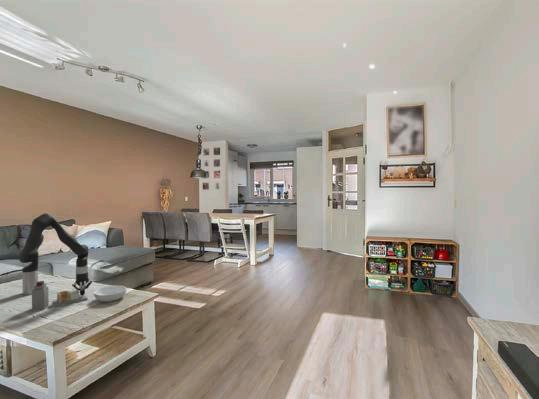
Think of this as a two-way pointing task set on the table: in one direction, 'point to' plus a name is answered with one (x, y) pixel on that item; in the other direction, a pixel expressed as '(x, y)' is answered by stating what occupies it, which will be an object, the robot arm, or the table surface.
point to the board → (81, 298)
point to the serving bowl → (110, 293)
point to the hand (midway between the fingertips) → (82, 295)
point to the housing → (74, 294)
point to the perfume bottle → (40, 296)
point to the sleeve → (63, 296)
